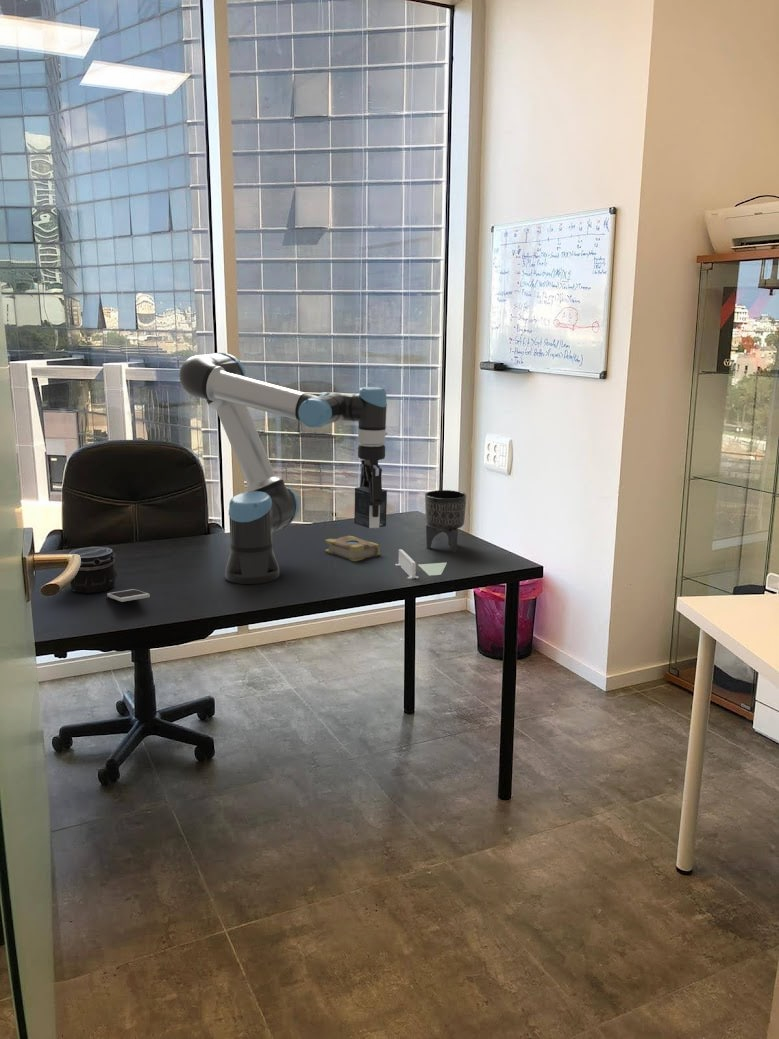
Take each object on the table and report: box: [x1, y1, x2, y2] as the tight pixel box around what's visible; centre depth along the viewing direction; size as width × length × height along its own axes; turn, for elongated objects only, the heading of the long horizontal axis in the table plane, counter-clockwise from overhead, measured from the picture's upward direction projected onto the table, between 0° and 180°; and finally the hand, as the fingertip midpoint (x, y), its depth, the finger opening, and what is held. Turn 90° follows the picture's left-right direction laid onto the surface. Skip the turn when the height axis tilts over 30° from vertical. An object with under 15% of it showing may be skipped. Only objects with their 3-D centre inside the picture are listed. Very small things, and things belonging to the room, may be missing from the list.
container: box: [68, 546, 118, 594], centre depth 233 cm, size 13×13×10 cm
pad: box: [418, 562, 447, 577], centre depth 251 cm, size 9×11×1 cm
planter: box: [424, 489, 467, 553], centre depth 271 cm, size 13×13×18 cm
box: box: [353, 486, 388, 530], centre depth 242 cm, size 8×6×11 cm
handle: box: [394, 549, 420, 580], centre depth 248 cm, size 3×14×5 cm, turn 15°
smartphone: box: [106, 588, 150, 603], centre depth 222 cm, size 7×16×1 cm, turn 32°
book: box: [324, 535, 381, 562], centre depth 267 cm, size 15×11×5 cm
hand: (369, 523), depth 243 cm, fingers closed on box, 9 cm apart
